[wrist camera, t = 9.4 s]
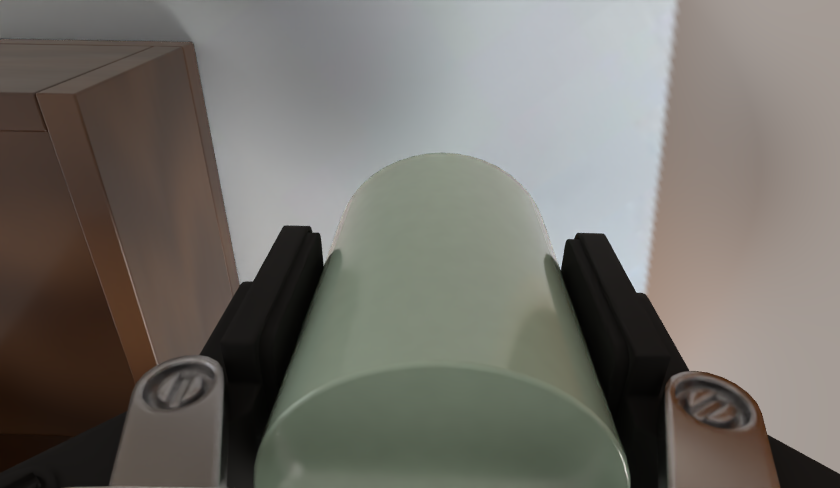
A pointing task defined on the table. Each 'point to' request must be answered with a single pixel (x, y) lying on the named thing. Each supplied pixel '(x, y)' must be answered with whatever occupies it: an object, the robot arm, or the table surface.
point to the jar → (441, 348)
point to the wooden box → (101, 230)
